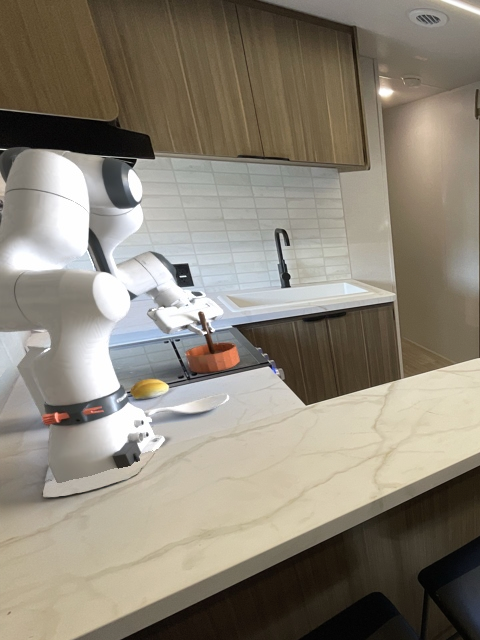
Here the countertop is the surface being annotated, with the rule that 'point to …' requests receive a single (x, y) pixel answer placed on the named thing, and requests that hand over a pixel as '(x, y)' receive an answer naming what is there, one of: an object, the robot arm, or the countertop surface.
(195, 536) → the countertop surface
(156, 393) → the bread roll
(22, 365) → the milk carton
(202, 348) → the bowl
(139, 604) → the countertop surface
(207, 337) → the wooden masher
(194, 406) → the spoon
